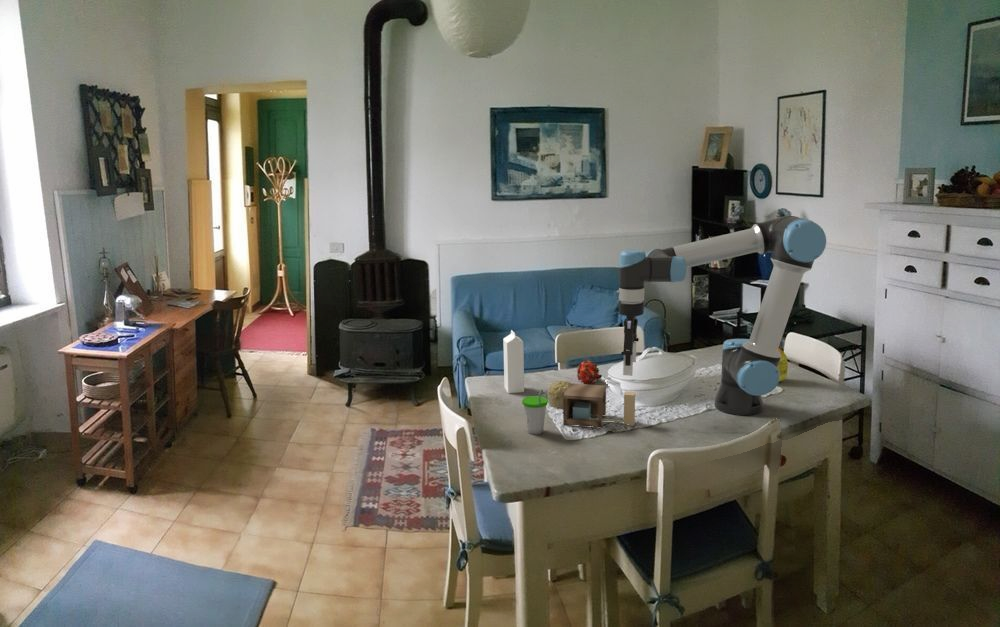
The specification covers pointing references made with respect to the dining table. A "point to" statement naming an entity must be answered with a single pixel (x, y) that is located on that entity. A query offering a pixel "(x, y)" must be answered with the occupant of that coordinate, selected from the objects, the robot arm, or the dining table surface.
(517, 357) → the milk
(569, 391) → the brown wooden box
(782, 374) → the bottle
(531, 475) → the dining table surface
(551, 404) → the decorative item
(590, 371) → the dragon fruit
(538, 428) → the cup
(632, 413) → the tethered block
